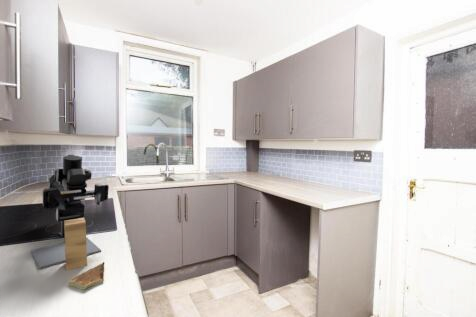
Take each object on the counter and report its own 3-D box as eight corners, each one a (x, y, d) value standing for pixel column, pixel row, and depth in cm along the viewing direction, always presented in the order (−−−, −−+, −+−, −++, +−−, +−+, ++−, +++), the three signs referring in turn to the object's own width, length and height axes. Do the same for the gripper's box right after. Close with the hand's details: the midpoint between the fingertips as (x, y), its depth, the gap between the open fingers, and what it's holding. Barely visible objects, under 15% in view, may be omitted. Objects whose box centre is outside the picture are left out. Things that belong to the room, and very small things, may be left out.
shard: (104, 266, 72) (104, 260, 71) (123, 271, 69) (123, 265, 69) (66, 286, 61) (66, 279, 61) (88, 293, 59) (88, 286, 59)
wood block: (65, 263, 72) (64, 220, 72) (85, 258, 75) (84, 217, 75) (66, 270, 68) (64, 225, 68) (87, 265, 71) (85, 221, 71)
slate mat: (31, 251, 80) (31, 250, 80) (86, 238, 91) (86, 237, 91) (39, 269, 69) (39, 267, 69) (101, 251, 80) (101, 250, 80)
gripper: (40, 167, 79) (45, 186, 69) (103, 164, 92) (116, 180, 82) (40, 197, 82) (45, 220, 72) (101, 190, 95) (113, 209, 84)
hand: (83, 205), depth 77 cm, fingers open, 9 cm apart
